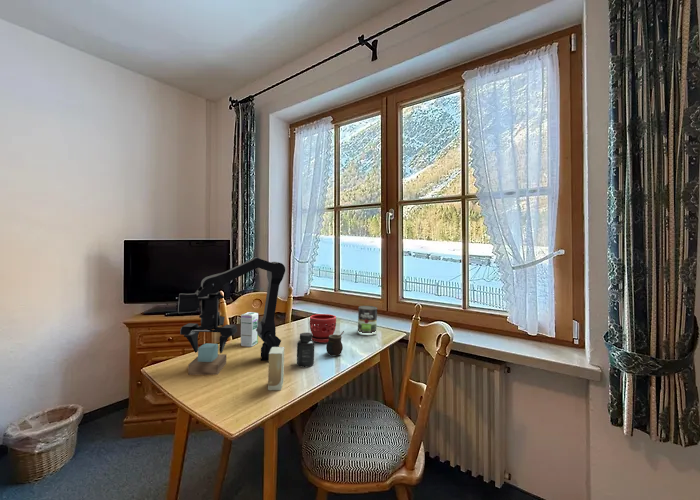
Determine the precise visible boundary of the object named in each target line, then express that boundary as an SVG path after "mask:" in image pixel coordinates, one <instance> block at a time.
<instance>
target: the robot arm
mask: <svg viewBox="0 0 700 500" xmlns="http://www.w3.org/2000/svg"><path fill="white" fill-rule="evenodd" d="M256 269H261V270H264V271H266V277H267V291H266V297H265V303H264V304H265V305H264V310H263V316H262V319H261V321H259V320H258V322H257V329H256V331H257V334H258V338H260V340H262V342H263V343H262V346H261V347H260V361H264V362H266V361H267V362H269V352H270V350H271V348H272V347H280V346H281V342H282V340H281V339H280V338H279V337H278V336H277V334H276V333H277V331H276V330H277V329H276V328H277V327H276V324H275V323H276V322H275V317H276V316H275V315H276V309H277V302H278V297H279V296H278V295H279V289H280V286H281V283H282V281H283V279H284V276H285V273H286V267H285V265H284V264H283V263H282V262H279V261H278V262H277V261H271V262H270V261H267V260H264V259H262V258H260V257H256V256H254V257H252V258H251V259H249V260H247V261H244V262H243V263H240V264H239V265H237V266H235V267H233V268H231V269H228V270H226V271H223V272H219V273H216V274H211V275H209V276H205V277H204V278H203V279H202V280H201V282H200V286H199V288H197V290H196V291H195V292H194V293H179V294H178V302H177V313H178V314H185V313H188V314H189V313H197V311H198V310H199V309H201V310H200V314H199V316H198V318H199V319H200V325H199V324H198V323H187V324H184V325H183V326H181V327H180V330H179V331H180V333H179V335H182V336H183V337H184V338H185V339H187V341H188V342H189V344H190V346H191V347H192V349H193V351H194V352H195V353H198V348H199V344H198V343H199V337H198V336H199V333H220V335H221V336H219V354H222V353H223V351H224V349H225V346H226V344H227V341H228V339H229V338H230V337H232V336H233V335H235V334H236V333H237V332H238V327H237V325H236V324H225V323H224V322H225V316H222V315H220V311H219V300H220V299H225V296H224V295H223V294H222V293H221V292H220V290H221V289H223V288H224V287H225V286H226V285H227V284H229V283H230V282H231V281H234V280H235V279H237V278H239V277H241V276H244V275H246V274H247V273H249V272H252V271H254V270H256ZM200 301H201V302H200ZM224 324H225V325H224Z"/></svg>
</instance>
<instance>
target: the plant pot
mask: <svg viewBox="0 0 700 500" xmlns="http://www.w3.org/2000/svg"><path fill="white" fill-rule="evenodd" d="M336 326H337V316H336V315H334V314H329V313H319V314H318V313H317V314H312V315H310V316H309V330H310V333H311V334H312V339H311V340H313V341H314V343H321V344H322V343H326V344H327V343H328V340H329V339H328V338H329V335H335V332H336Z"/></svg>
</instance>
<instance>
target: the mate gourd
mask: <svg viewBox="0 0 700 500" xmlns="http://www.w3.org/2000/svg"><path fill="white" fill-rule="evenodd" d="M344 333H345V331H344V330H343V331H342V332H341V333H340V334H333V335H329V338H328V339H329V340H328V342H326V346H325V350H326V353H327V354H328V355H329V356H330V355H331V356H332V357H338V356H340V355H341V354H342V351H343V350H344V349H343V344H342V335H343V334H344Z"/></svg>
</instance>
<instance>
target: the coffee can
mask: <svg viewBox="0 0 700 500" xmlns="http://www.w3.org/2000/svg"><path fill="white" fill-rule="evenodd" d="M357 315H358V316H357V317H358V319H357V322H358V323H357V332H358V331H359V332H362V333H372V332H375V331H376V332H377V326H378V324H377V320H378V319H377V318H378V307H376V306H373V305H360V306H358V314H357Z"/></svg>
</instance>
